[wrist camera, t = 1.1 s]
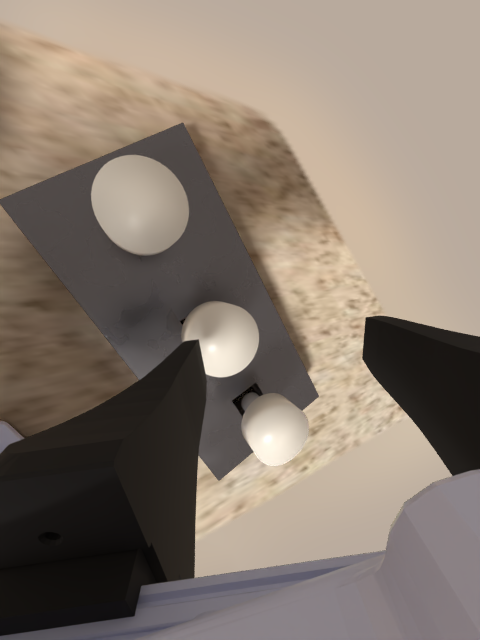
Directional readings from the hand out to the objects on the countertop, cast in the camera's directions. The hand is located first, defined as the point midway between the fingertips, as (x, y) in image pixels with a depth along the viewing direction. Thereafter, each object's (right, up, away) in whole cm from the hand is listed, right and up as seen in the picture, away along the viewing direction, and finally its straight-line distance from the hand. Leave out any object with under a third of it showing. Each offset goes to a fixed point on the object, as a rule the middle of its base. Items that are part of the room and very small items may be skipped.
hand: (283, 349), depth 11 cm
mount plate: (-6, +1, +10) cm, 11 cm away
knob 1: (-8, +7, +5) cm, 12 cm away
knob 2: (-1, -5, +10) cm, 11 cm away
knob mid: (-5, +1, +7) cm, 8 cm away
